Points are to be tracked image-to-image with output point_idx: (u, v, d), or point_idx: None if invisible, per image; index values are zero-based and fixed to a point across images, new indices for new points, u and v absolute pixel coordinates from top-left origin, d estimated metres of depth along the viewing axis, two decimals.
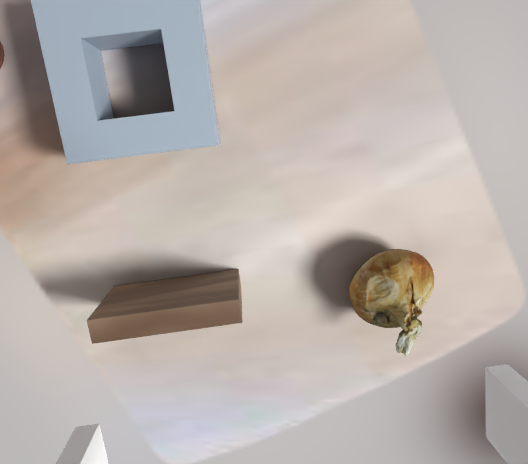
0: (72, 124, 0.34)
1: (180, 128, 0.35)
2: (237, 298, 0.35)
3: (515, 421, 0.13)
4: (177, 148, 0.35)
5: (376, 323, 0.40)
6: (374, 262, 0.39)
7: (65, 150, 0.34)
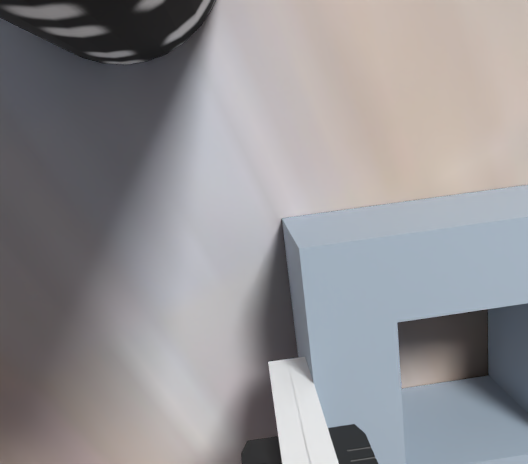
0: None
1: None
2: None
3: None
4: None
5: None
6: None
7: None
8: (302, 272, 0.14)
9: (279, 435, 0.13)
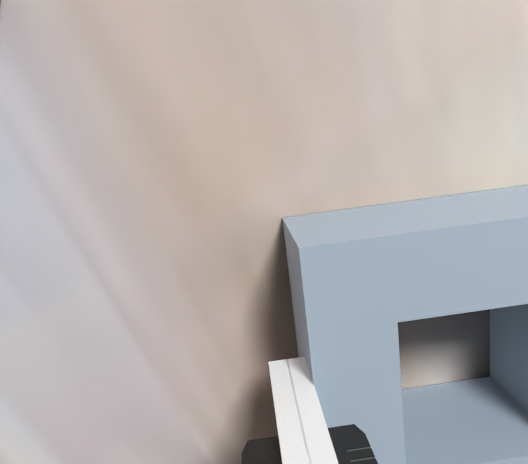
0: None
1: None
2: None
3: None
4: None
5: None
6: None
7: None
8: (302, 271, 0.14)
9: (279, 435, 0.13)
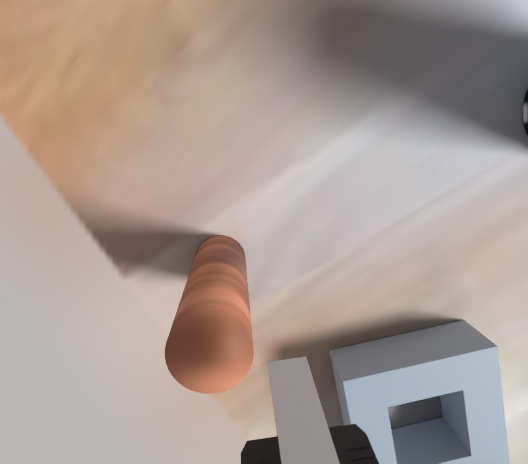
0: None
1: None
2: None
3: None
4: None
5: None
6: None
7: None
8: (487, 349, 0.33)
9: (278, 435, 0.13)
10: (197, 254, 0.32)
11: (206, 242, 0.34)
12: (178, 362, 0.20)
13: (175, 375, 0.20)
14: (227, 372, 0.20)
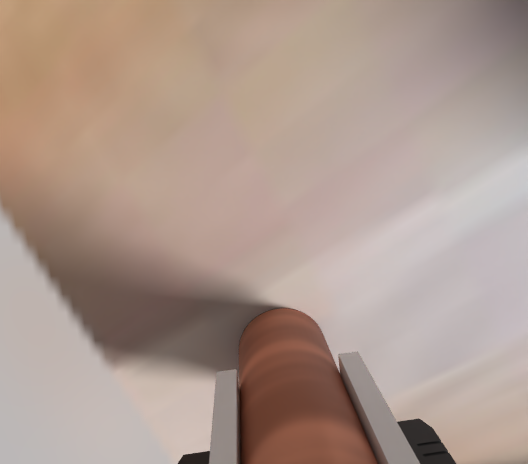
0: None
1: None
2: None
3: (351, 400, 0.15)
4: None
5: None
6: None
7: None
8: None
9: (211, 450, 0.12)
10: (252, 353, 0.17)
11: (265, 324, 0.19)
12: None
13: None
14: None
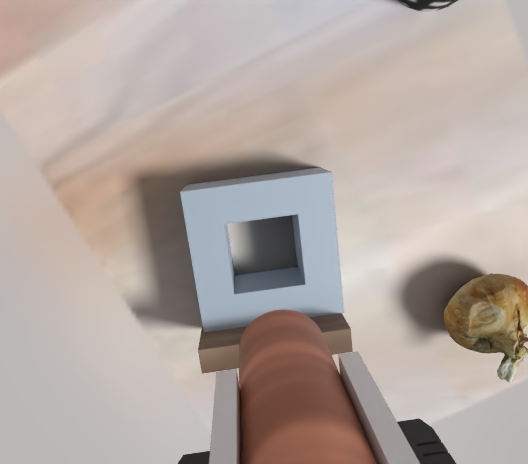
0: (211, 298, 0.36)
1: (309, 299, 0.37)
2: (348, 327, 0.35)
3: (351, 400, 0.15)
4: None
5: (476, 349, 0.39)
6: (476, 288, 0.38)
7: (202, 320, 0.37)
8: (321, 173, 0.35)
9: (211, 450, 0.12)
10: (252, 355, 0.17)
11: (265, 325, 0.19)
12: None
13: None
14: None
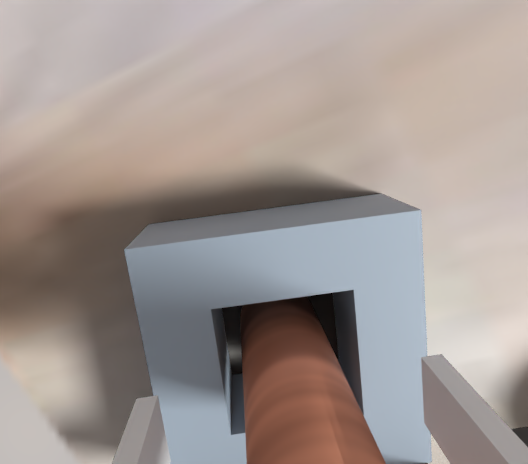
0: (187, 442, 0.19)
1: None
2: None
3: (442, 406, 0.14)
4: None
5: None
6: None
7: None
8: (402, 213, 0.18)
9: None
10: (252, 317, 0.21)
11: None
12: None
13: None
14: None
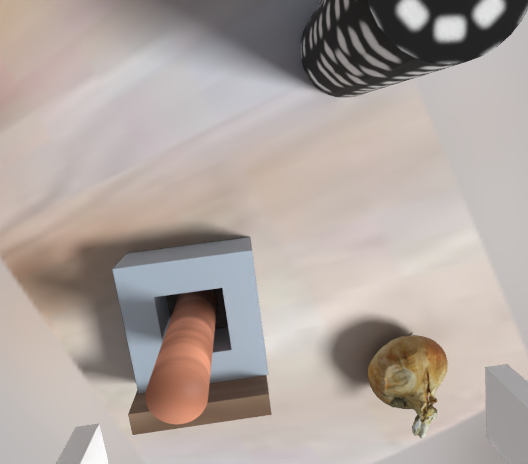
0: (144, 362, 0.40)
1: (236, 363, 0.40)
2: (267, 392, 0.38)
3: (515, 421, 0.13)
4: (233, 378, 0.40)
5: (393, 406, 0.42)
6: (392, 351, 0.42)
7: (137, 382, 0.40)
8: (242, 251, 0.38)
9: None
10: (178, 302, 0.41)
11: None
12: (154, 401, 0.28)
13: (151, 410, 0.28)
14: (188, 410, 0.29)
